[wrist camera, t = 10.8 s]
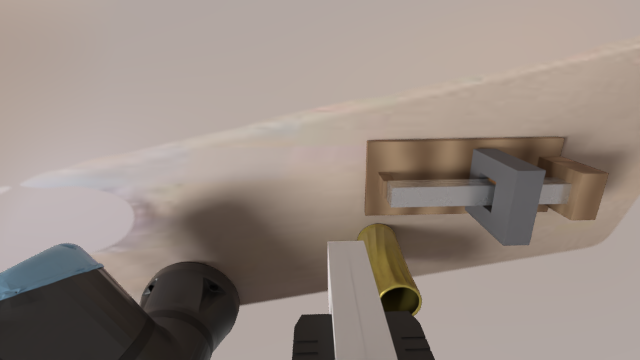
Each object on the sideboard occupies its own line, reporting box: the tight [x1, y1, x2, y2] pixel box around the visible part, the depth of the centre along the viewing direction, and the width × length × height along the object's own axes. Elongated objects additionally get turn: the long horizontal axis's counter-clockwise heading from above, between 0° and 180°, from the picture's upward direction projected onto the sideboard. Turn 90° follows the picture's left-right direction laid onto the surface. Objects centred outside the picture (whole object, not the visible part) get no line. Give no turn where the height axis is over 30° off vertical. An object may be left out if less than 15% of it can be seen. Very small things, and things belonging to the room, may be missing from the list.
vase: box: [357, 224, 422, 316], centre depth 43 cm, size 6×6×14 cm
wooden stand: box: [365, 137, 609, 220], centre depth 42 cm, size 27×11×9 cm, turn 91°
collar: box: [465, 148, 546, 246], centre depth 40 cm, size 3×9×10 cm, turn 1°
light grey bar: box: [387, 177, 572, 208], centre depth 41 cm, size 22×3×3 cm, turn 91°
